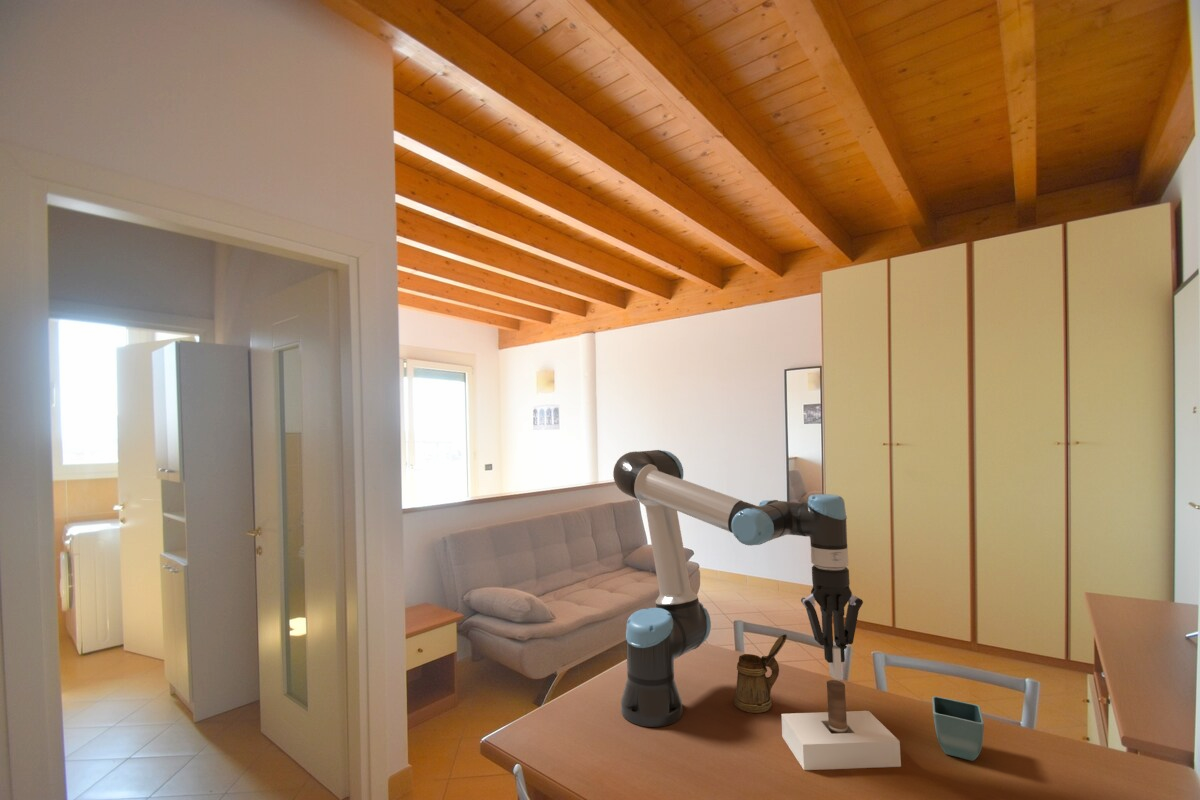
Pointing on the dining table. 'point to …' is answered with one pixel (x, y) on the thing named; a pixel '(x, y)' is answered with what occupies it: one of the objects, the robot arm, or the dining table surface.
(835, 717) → the walnut peg
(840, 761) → the socket block
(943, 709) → the flower pot
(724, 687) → the dining table surface
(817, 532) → the robot arm
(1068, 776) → the dining table surface
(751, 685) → the wooden mug
